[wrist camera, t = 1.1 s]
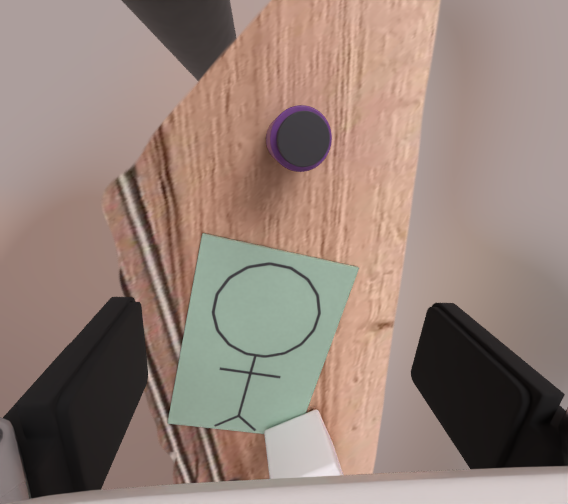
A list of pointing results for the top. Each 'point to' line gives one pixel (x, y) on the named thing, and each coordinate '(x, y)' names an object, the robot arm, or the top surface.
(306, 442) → the medicine bottle
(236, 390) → the sketch card
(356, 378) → the top surface
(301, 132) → the cylinder
